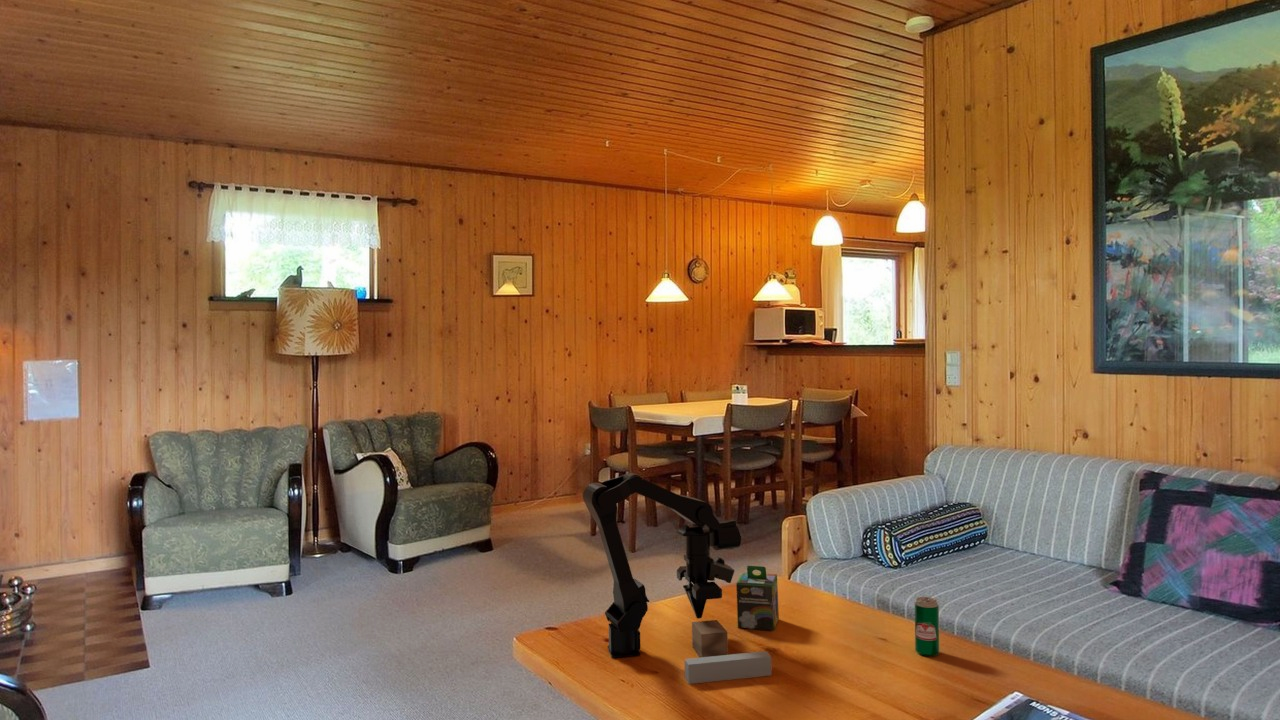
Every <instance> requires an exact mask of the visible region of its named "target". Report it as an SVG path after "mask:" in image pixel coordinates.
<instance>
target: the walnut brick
mask: <svg viewBox="0 0 1280 720" xmlns="http://www.w3.org/2000/svg"><path fill="white" fill-rule="evenodd" d="M691 637H692V638H691V645H692V649H693V650H694V652H695V653H696V655H697V656H698V658H701V657H711V656H721V655H729V650H728V649H729V647H728V646H729V645H728V644H729V641H728V631H727V629H725V628H724V626H723V625H722V624H721V623H720V621H719V620H718V619H713V620H712V619H710V620H703V621H702V620H701V621H691Z"/></svg>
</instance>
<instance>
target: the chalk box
mask: <svg viewBox="0 0 1280 720" xmlns="http://www.w3.org/2000/svg"><path fill="white" fill-rule="evenodd" d="M746 571H747V572H743V573H742V574H741V575H740V576H739V578H738V580H737V582H736V585H735V587H736V614H737V615H736V616H737V628H738V629H739V628H740V629H750V630H751V629H752V630H760V631H767V632H768V631H769V632H774V631H775V628H776V626H777V624H778V621H779V618H780V615H779V592H778V591H779V587H778V586H779V585H778V584H779V583H778V574H777V573H775V574H774V573H767V568H766V566H761V565H747V567H746ZM754 571H758V572H756V573H755V572H754ZM759 572H760V573H759Z"/></svg>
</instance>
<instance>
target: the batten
mask: <svg viewBox="0 0 1280 720" xmlns="http://www.w3.org/2000/svg"><path fill="white" fill-rule="evenodd" d="M768 676H772V656H771V655H770V654H769V653H768V651H767V650H766V651H765V650H764V651H753V652H744V653H732V654H728V655H721V656H711V657H701V658H700V657H695V658H694V657H692V658H685V659H684V678H685V681H686V683H688V685H693V684H702V683H711V682H720V681H721V682H722V681H729V680H730V681H731V680H742V679H749V678H758V677H768Z"/></svg>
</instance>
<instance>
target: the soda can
mask: <svg viewBox="0 0 1280 720" xmlns="http://www.w3.org/2000/svg"><path fill="white" fill-rule="evenodd" d="M939 605H940V604H938V601H937V599H936V598H933V597H929V596H920V597H916V601H915V602H914V649H915V651H916V653H917V654H918V653H919V654H918V655H920V654H921V655H920V656H923V655H924V656H923V657H928V656H932V657H936V656H938V654H939V653H940V612H939V611H940V606H939Z"/></svg>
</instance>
